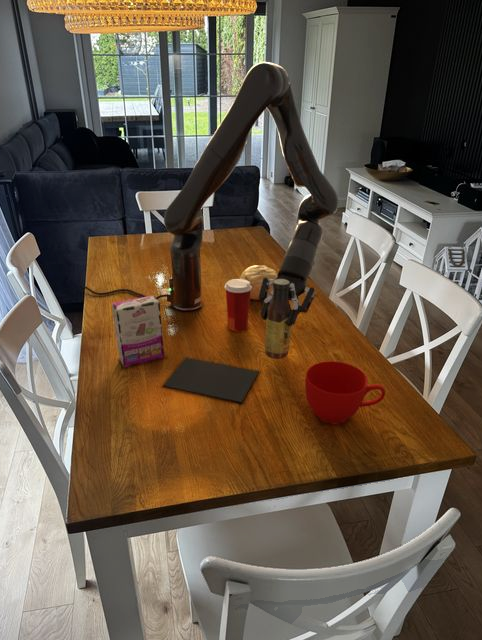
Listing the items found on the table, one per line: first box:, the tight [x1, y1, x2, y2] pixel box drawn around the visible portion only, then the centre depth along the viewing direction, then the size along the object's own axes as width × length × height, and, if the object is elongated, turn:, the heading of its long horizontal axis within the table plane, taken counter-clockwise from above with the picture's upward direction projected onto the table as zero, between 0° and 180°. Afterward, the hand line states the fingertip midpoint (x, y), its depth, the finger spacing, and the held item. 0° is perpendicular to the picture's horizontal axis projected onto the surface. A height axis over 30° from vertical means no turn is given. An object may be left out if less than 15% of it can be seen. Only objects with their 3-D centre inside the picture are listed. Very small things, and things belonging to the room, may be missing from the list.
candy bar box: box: [111, 294, 165, 368], centre depth 125 cm, size 11×5×16 cm, turn 117°
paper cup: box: [223, 278, 252, 332], centre depth 142 cm, size 8×8×14 cm
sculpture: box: [239, 264, 278, 301], centre depth 162 cm, size 11×12×11 cm
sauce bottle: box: [264, 279, 292, 360], centre depth 121 cm, size 7×6×20 cm
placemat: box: [162, 357, 260, 404], centre depth 120 cm, size 20×14×1 cm
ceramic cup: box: [304, 360, 386, 425], centre depth 106 cm, size 13×17×10 cm
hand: (276, 321), depth 120 cm, fingers closed on sauce bottle, 6 cm apart
